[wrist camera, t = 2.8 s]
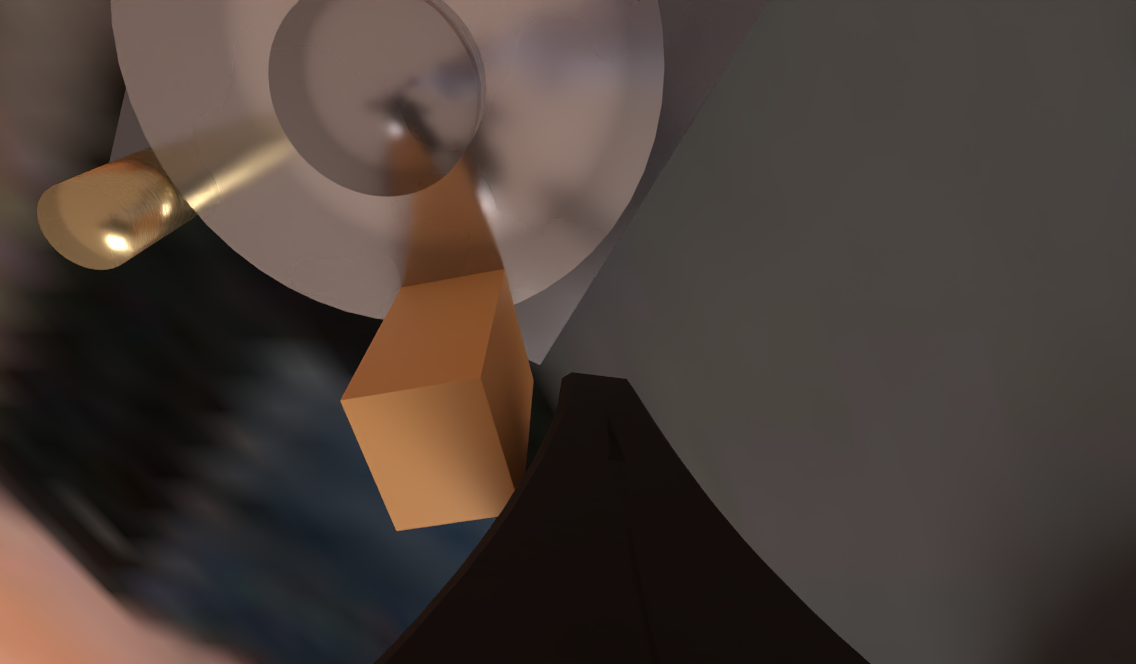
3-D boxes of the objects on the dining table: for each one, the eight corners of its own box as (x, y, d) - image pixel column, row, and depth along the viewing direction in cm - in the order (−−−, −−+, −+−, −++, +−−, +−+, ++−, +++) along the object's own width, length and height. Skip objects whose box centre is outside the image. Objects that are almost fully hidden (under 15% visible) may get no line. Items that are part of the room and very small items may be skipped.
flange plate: (51, -167, 8) (-346, -275, 5) (613, -313, 7) (651, -570, 4) (305, 388, 12) (194, 559, 8) (689, 323, 11) (743, 481, 8)
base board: (277, -413, 9) (55, -708, 5) (785, -56, 11) (904, -71, 7) (141, 148, 13) (-50, 226, 9) (541, 341, 14) (531, 474, 11)
